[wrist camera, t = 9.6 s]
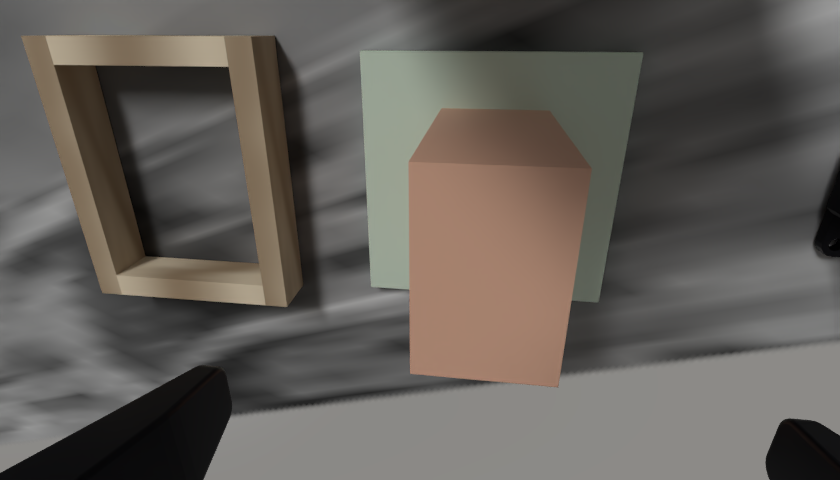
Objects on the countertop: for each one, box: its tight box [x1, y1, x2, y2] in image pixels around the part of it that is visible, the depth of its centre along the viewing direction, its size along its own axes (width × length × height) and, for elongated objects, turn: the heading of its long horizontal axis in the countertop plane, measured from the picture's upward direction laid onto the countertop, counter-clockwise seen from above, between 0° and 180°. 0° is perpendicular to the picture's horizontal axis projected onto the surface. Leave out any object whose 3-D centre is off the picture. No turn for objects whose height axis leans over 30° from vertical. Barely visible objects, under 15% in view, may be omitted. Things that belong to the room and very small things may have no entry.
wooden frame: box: [21, 35, 303, 307], centre depth 20 cm, size 9×11×2 cm
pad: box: [360, 50, 643, 303], centre depth 19 cm, size 10×10×1 cm
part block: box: [408, 108, 592, 387], centre depth 15 cm, size 4×6×8 cm, turn 0°
